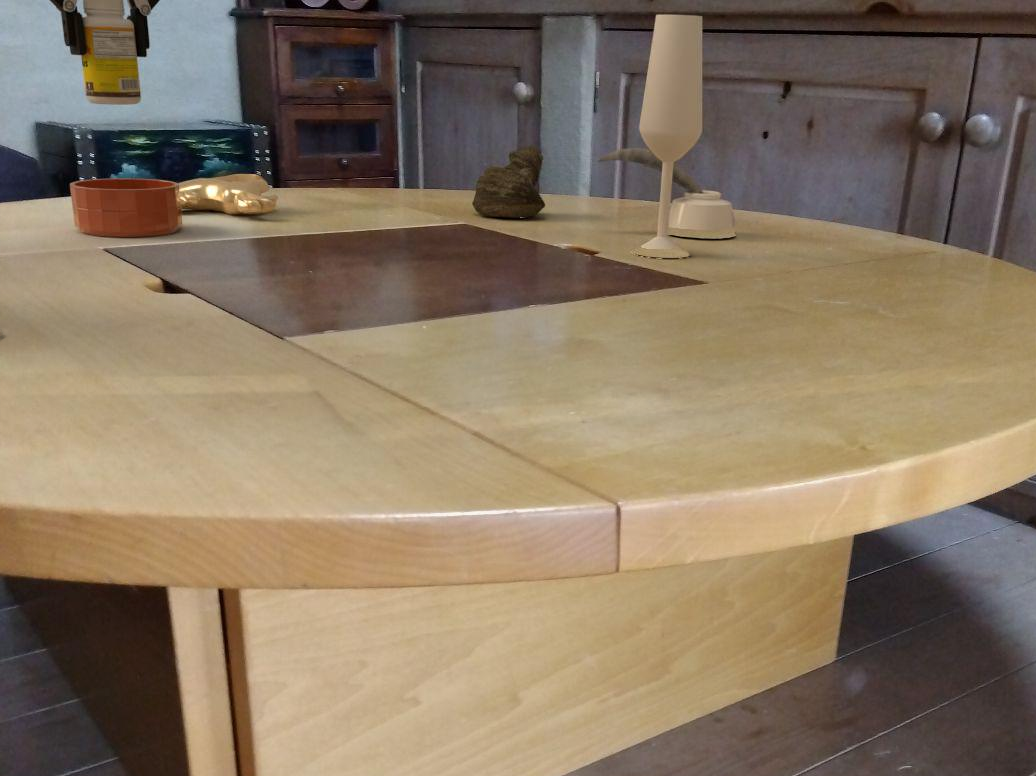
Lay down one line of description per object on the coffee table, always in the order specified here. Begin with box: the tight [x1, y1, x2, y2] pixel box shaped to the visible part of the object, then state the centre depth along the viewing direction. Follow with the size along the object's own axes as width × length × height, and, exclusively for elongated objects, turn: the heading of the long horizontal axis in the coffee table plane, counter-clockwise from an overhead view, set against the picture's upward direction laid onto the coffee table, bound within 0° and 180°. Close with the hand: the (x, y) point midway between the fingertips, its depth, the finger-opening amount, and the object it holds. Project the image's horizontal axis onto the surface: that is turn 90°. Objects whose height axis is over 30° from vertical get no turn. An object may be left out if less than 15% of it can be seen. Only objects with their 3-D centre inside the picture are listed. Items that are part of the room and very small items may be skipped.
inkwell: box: [596, 147, 736, 230], centre depth 137 cm, size 9×18×10 cm, turn 100°
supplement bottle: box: [80, 0, 142, 106], centre depth 118 cm, size 6×6×10 cm
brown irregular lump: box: [471, 145, 546, 219], centre depth 147 cm, size 11×12×10 cm
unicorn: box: [177, 173, 279, 215], centre depth 141 cm, size 20×4×17 cm
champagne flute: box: [630, 14, 703, 260], centre depth 120 cm, size 7×7×24 cm
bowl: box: [69, 177, 183, 238], centre depth 126 cm, size 11×11×5 cm
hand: (108, 53), depth 118 cm, fingers closed on supplement bottle, 5 cm apart
